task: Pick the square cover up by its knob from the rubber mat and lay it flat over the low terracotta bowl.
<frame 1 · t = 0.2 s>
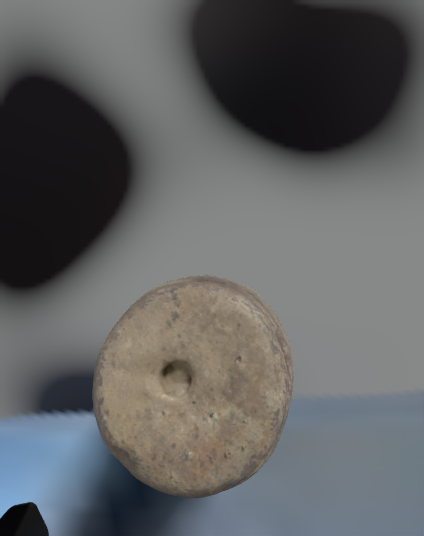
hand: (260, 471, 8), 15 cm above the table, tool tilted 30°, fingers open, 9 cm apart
carving: (208, 359, 23), on the table
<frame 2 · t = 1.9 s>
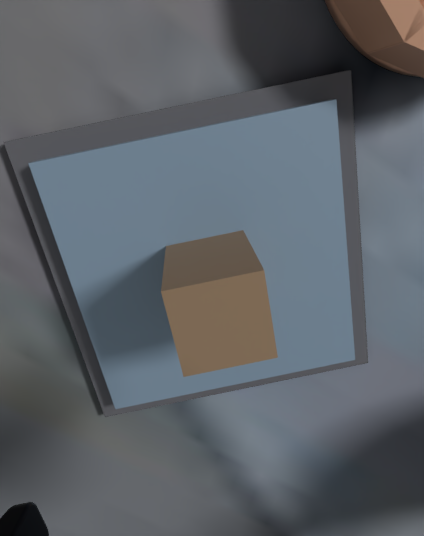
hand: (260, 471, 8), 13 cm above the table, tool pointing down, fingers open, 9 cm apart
mat: (210, 264, 20), on the table
cover: (210, 267, 20), resting on mat
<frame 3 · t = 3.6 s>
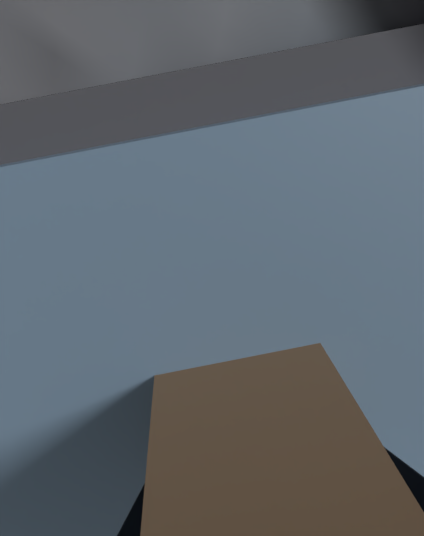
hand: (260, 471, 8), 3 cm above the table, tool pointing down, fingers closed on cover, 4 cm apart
mat: (241, 388, 11), on the table
cover: (244, 400, 10), resting on mat, touching gripper
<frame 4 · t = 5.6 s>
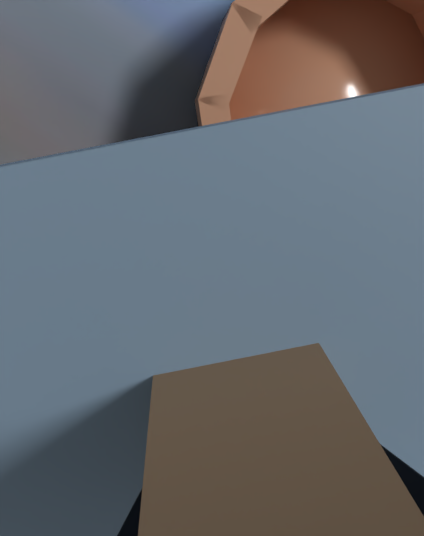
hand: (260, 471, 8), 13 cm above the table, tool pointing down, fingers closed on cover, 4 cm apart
bowl: (323, 117, 18), on the table
cover: (242, 400, 10), point 10 cm above the table, touching gripper
when the fingers open (8 cm above the table, at t = 7.7 s): cover drops 1 cm, resting on bowl.
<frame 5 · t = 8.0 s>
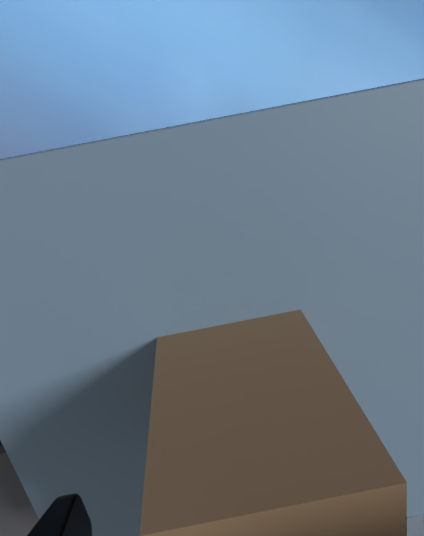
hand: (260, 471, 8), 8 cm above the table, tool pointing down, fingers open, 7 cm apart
cover: (235, 364, 11), point 4 cm above the table, touching bowl
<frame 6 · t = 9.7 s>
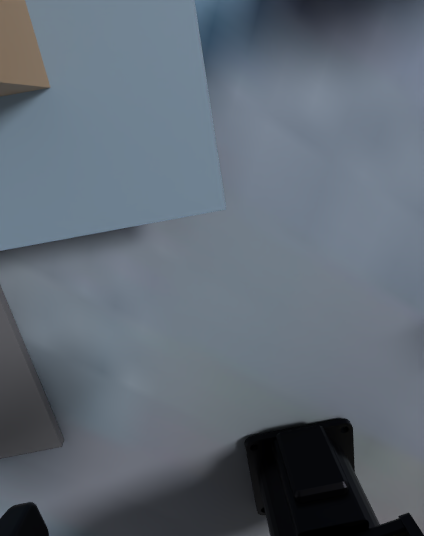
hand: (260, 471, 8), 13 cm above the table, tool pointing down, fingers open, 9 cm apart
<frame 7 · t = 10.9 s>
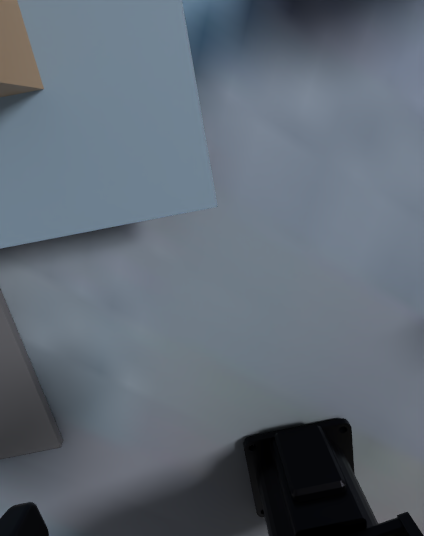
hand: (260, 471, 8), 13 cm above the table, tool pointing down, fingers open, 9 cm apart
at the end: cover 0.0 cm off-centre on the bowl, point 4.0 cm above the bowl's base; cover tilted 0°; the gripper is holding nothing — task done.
